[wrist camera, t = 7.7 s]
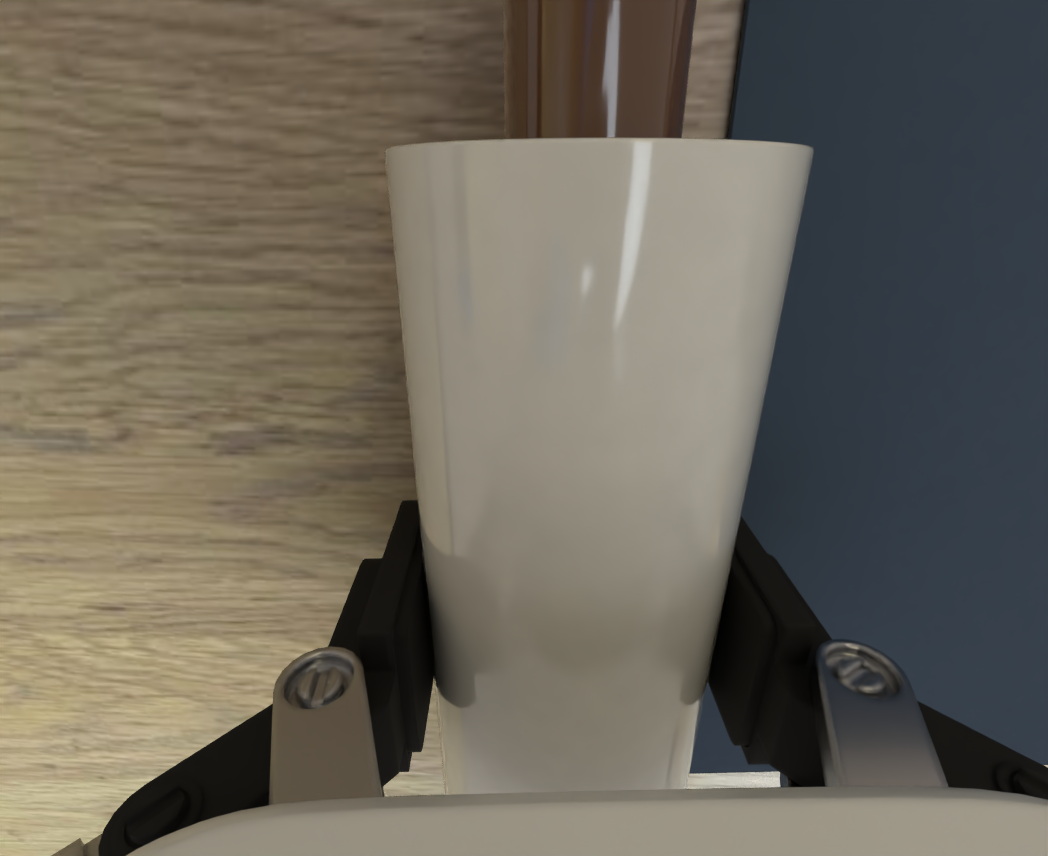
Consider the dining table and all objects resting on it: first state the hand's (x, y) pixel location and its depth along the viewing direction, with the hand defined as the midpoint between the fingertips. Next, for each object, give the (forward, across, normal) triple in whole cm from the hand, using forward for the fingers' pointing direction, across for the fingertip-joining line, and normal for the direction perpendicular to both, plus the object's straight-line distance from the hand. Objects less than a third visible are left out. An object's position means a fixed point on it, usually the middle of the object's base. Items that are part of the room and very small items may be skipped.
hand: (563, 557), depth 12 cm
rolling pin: (+1, 0, 0) cm, 1 cm away
